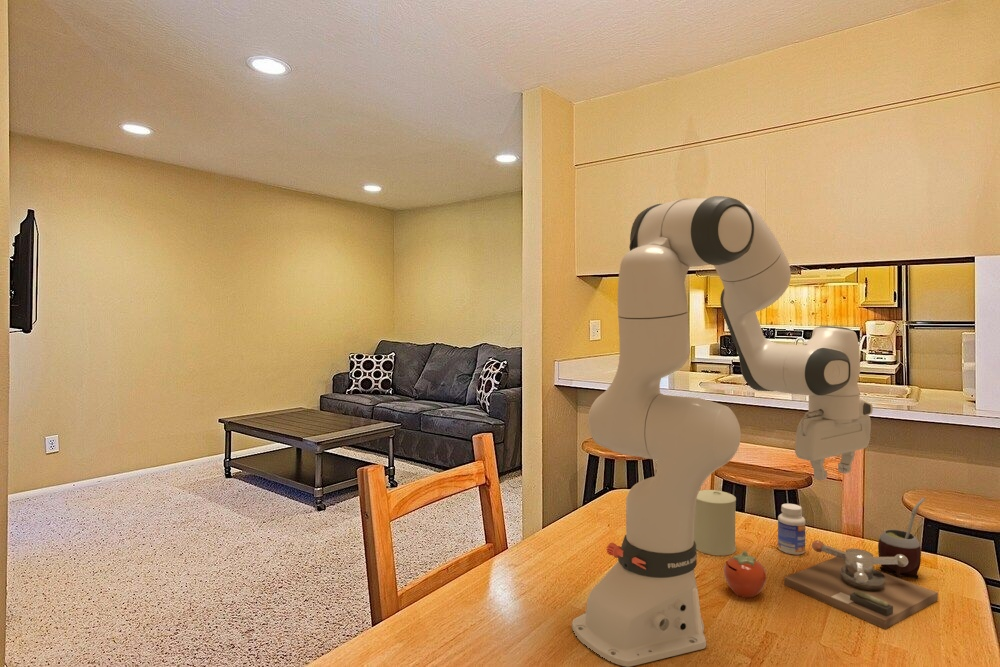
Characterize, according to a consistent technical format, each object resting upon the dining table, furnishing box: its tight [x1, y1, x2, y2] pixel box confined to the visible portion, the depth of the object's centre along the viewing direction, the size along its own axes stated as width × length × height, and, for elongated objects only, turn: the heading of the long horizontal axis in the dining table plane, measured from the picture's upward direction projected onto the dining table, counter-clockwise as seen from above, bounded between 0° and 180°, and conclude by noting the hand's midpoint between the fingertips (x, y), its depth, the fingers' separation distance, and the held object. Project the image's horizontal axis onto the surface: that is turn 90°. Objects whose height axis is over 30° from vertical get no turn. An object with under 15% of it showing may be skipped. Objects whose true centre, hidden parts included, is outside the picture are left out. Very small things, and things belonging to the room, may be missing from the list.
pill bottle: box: [777, 503, 806, 556], centre depth 127 cm, size 5×5×10 cm
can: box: [694, 489, 737, 557], centre depth 129 cm, size 9×9×12 cm
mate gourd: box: [877, 497, 926, 579], centre depth 116 cm, size 8×8×15 cm
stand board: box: [783, 556, 939, 630], centre depth 108 cm, size 18×18×4 cm
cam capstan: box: [811, 540, 908, 591], centre depth 110 cm, size 16×14×6 cm
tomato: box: [723, 550, 767, 599], centre depth 109 cm, size 7×7×8 cm
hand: (832, 475), depth 117 cm, fingers open, 7 cm apart
